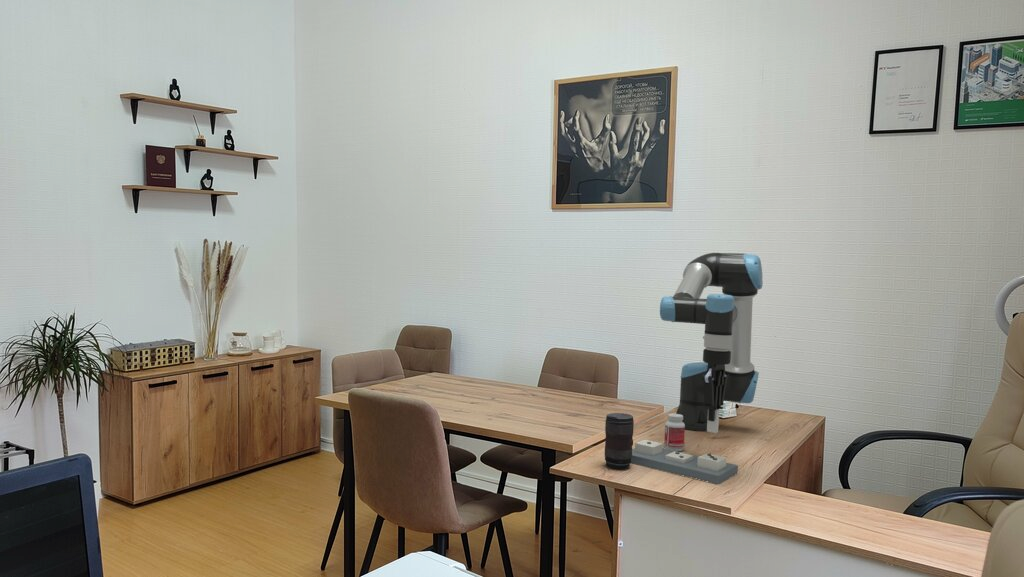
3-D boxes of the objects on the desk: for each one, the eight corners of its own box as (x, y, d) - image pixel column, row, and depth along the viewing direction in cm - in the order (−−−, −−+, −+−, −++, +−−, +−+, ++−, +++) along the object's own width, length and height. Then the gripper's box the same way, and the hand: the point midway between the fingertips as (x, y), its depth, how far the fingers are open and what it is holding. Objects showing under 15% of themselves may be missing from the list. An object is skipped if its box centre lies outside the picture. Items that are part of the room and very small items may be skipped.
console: (644, 451, 227) (645, 444, 227) (737, 473, 208) (738, 465, 208) (621, 460, 216) (622, 452, 216) (717, 484, 197) (718, 475, 197)
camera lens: (614, 460, 216) (617, 411, 215) (637, 467, 210) (639, 416, 209) (597, 465, 210) (600, 414, 209) (620, 472, 205) (622, 420, 204)
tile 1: (644, 450, 223) (645, 438, 222) (662, 454, 219) (662, 442, 219) (634, 454, 218) (635, 442, 218) (652, 458, 214) (653, 446, 214)
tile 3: (705, 464, 210) (706, 452, 210) (725, 469, 206) (726, 456, 206) (697, 469, 205) (697, 456, 205) (717, 473, 202) (717, 460, 201)
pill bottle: (687, 450, 231) (689, 416, 230) (674, 452, 227) (676, 418, 227) (673, 445, 236) (675, 412, 235) (659, 447, 233) (661, 413, 232)
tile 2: (674, 462, 216) (674, 450, 216) (692, 467, 213) (693, 454, 212) (664, 466, 212) (665, 454, 212) (683, 471, 208) (684, 458, 208)
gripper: (714, 345, 212) (709, 425, 213) (694, 349, 201) (689, 433, 203) (739, 348, 207) (734, 430, 208) (720, 352, 197) (715, 438, 198)
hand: (712, 431), depth 205 cm, fingers closed
